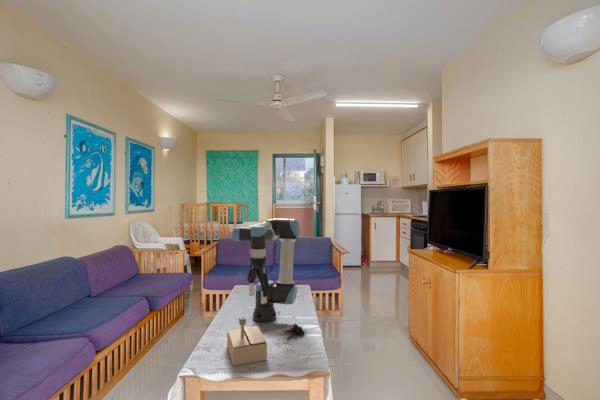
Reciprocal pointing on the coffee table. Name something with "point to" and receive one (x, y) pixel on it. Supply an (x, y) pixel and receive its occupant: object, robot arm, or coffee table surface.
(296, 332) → the stuffed animal
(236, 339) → the flap outer
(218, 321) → the coffee table surface
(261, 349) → the carton
